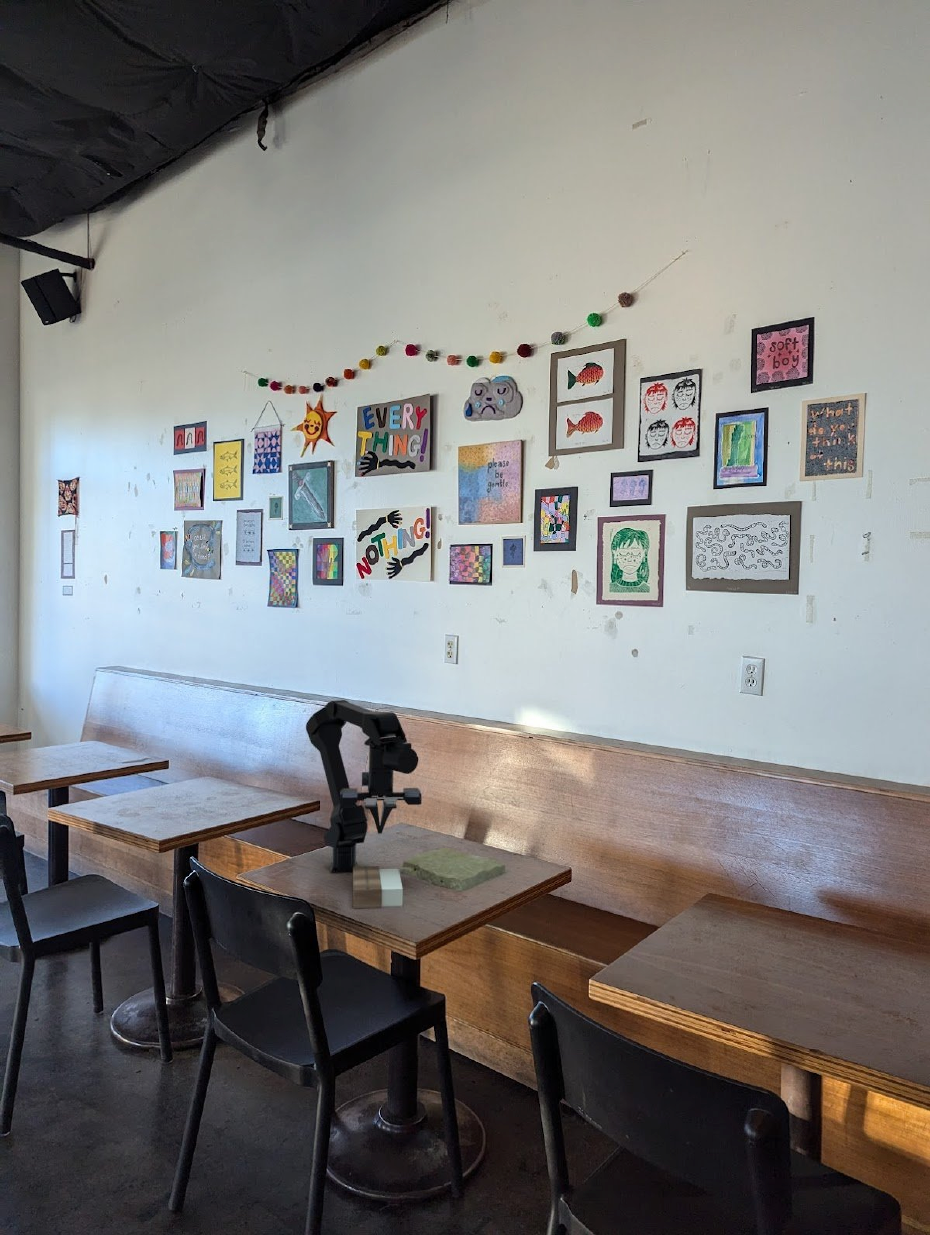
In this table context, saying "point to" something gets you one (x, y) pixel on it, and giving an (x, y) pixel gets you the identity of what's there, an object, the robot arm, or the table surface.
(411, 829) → the table surface
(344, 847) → the robot arm
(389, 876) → the sage plank
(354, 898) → the walnut plank
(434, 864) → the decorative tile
